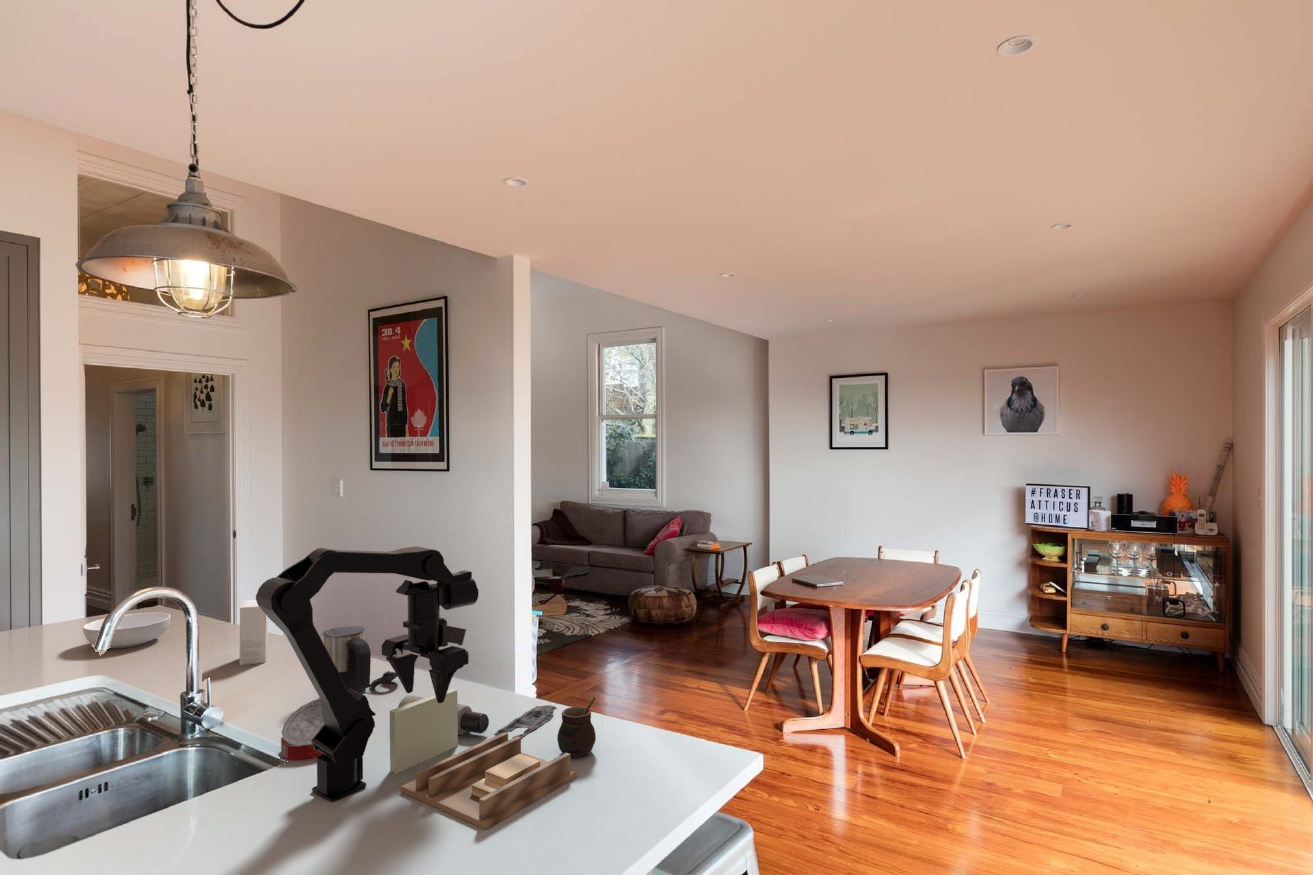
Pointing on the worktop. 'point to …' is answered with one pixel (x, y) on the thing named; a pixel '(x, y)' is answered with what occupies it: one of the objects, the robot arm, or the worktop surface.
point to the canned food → (302, 732)
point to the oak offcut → (511, 769)
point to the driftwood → (529, 720)
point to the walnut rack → (456, 774)
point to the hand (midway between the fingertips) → (425, 697)
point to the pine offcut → (484, 788)
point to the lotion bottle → (460, 717)
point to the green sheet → (422, 730)
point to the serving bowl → (132, 629)
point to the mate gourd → (576, 731)
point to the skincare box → (253, 633)
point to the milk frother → (352, 657)
